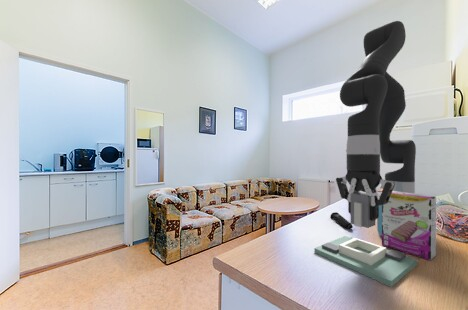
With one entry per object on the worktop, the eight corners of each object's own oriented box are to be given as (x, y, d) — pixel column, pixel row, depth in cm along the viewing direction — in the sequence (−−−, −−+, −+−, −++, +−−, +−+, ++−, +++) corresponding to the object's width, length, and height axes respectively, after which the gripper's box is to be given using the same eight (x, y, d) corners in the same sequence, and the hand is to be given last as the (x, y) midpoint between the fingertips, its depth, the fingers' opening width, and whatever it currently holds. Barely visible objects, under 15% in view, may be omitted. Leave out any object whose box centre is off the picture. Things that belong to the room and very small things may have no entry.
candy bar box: (381, 246, 61) (380, 191, 61) (387, 242, 64) (387, 189, 64) (431, 262, 52) (431, 197, 52) (437, 256, 55) (436, 195, 55)
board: (344, 239, 66) (344, 229, 66) (417, 264, 51) (417, 251, 51) (314, 252, 57) (314, 241, 57) (391, 286, 42) (391, 271, 42)
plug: (358, 220, 57) (358, 192, 57) (375, 225, 53) (375, 194, 53) (349, 224, 54) (349, 193, 54) (366, 228, 51) (366, 196, 51)
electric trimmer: (344, 231, 74) (344, 222, 74) (329, 218, 90) (329, 210, 90) (355, 231, 74) (355, 223, 74) (338, 218, 89) (338, 211, 89)
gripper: (401, 152, 50) (401, 222, 50) (343, 153, 62) (343, 209, 62) (388, 152, 46) (388, 228, 46) (329, 153, 58) (329, 213, 58)
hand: (362, 217), depth 54 cm, fingers closed on plug, 4 cm apart
